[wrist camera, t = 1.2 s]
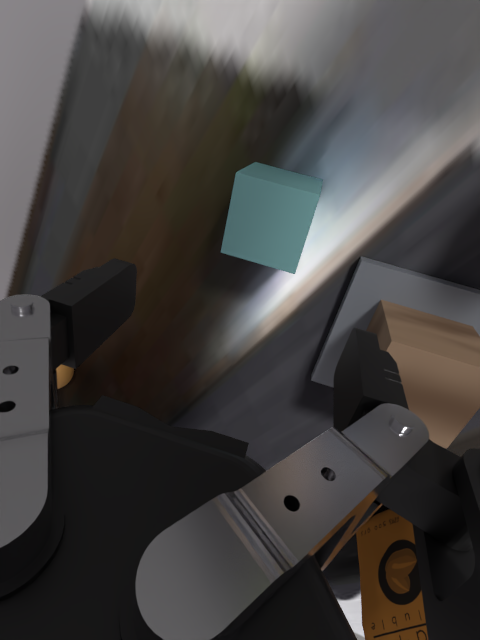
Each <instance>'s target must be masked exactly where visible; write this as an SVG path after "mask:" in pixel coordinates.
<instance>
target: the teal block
mask: <svg viewBox="0 0 480 640" xmlns="http://www.w3.org/2000/svg"><path fill="white" fill-rule="evenodd" d="M322 182H323V180H322V179H318V178H314V177H310V176H307V175H303V174H299V173H295V172H292V171H288V170H284V169H280V168H277V167H273V166H269V165H265V164H262V163H258V162H254V163H252V164H251V165H249V166H247V167H245V168H243V169H241V170H239V171H238V172H236V175H235V181H234V186H233V191H232V196H231V201H230V207H229V212H228V217H227V222H226V227H225V233H224V238H223V243H222V248H221V253H224V254H228V255H231V256H234V257H238V258H241V259H245V260H248V261H252V262H255V263H258V264H262V265H265V266H269V267H272V268H276V269H279V270H282V271H286V272H289V273H293V274H295V272H296V269H297V265H298V262H299V259H300V256H301V253H302V250H303V247H304V244H305V241H306V237H307V234H308V231H309V228H310V225H311V222H312V219H313V216H314V213H315V210H316V206H317V203H318V200H319V197H320V193H321V188H322Z"/></svg>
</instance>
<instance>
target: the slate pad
mask: <svg viewBox="0 0 480 640" xmlns="http://www.w3.org/2000/svg"><path fill="white" fill-rule="evenodd" d="M381 300H384V301H388V302H391V303H395V304H398V305H402V306H405V307H408V308H412V309H415V310H419V311H422V312H425V313H429V314H432V315H436V316H439V317H443V318H446V319H449V320H453V321H456V322H460V323H463V324H466V325H470V326H473V327H474V329H475V330H476V332H477V333H478V335H479V336H480V290H478V289H475V288H471V287H468V286H464V285H460V284H457V283H453V282H450V281H446V280H443V279H439V278H436V277H432V276H429V275H425V274H422V273H418V272H415V271H411V270H408V269H404V268H400V267H397V266H393V265H390V264H386V263H383V262H379V261H376V260H372V259H369V258H365V257H362V256H361V257H360V259H359V262H358V264H357V267H356V269H355V271H354V274H353V276H352V279H351V281H350V283H349V286H348V288H347V291H346V293H345V295H344V298H343V300H342V302H341V305H340V307H339V310H338V312H337V314H336V317H335V319H334V322H333V324H332V326H331V329H330V331H329V334H328V336H327V338H326V341H325V343H324V345H323V348H322V350H321V353H320V355H319V357H318V360H317V362H316V365H315V367H314V369H313V372H312V375H311V381H314V382H317V383H320V384H323V385H327V386H330V387H333V388H334V373H335V369H336V366H337V363H338V361H339V359H340V356H341V354H342V352H343V349H344V347H345V345H346V342H347V340H348V338H349V336H350V333H351V331H352V330H353V328H358V329H362V330H365V331H366V330H367V327H368V325H369V323H370V321H371V319H372V317H373V315H374V313H375V311H376V309H377V307H378V305H379V303H380V301H381Z"/></svg>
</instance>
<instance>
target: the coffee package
mask: <svg viewBox="0 0 480 640" xmlns="http://www.w3.org/2000/svg"><path fill="white" fill-rule="evenodd" d="M356 536H357V547H358V558H359V567H360V584H361V603H362V626H363V630H364V635H365V640H428V635H427V627H426V620H425V613H424V605H423V598H422V591H421V583H420V576H419V569H418V561H417V554H416V547H415V539H414V532H413V524H412V523H411V522H409V521H407V520H406V519H404V518H403V517H401V516H400V515H398V514H397V513H395V512H393V511H392V510H390V509H388V510H385V511H383V512H381V513H378V514H376V515H374V516H372V517H370V518H369V519H368V521H367V522H366V523H365V524H364V525H363V526H362V527H361V528H360V529H359V530H358V531H357V532H356Z"/></svg>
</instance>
